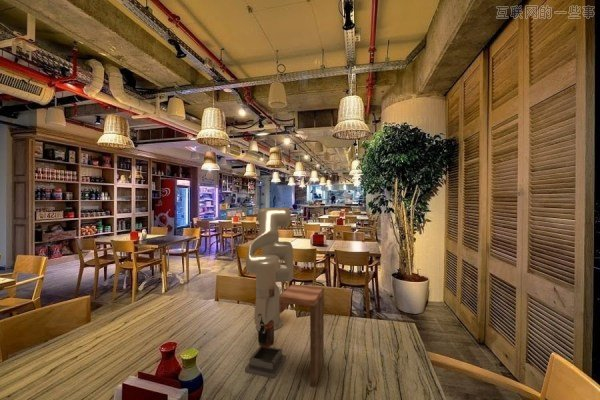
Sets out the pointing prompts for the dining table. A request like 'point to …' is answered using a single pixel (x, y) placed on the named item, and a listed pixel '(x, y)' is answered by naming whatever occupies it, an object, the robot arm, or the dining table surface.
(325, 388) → the dining table surface
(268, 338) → the supplement bottle
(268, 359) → the socket
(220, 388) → the dining table surface
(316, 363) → the wooden inverted l post
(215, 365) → the dining table surface
